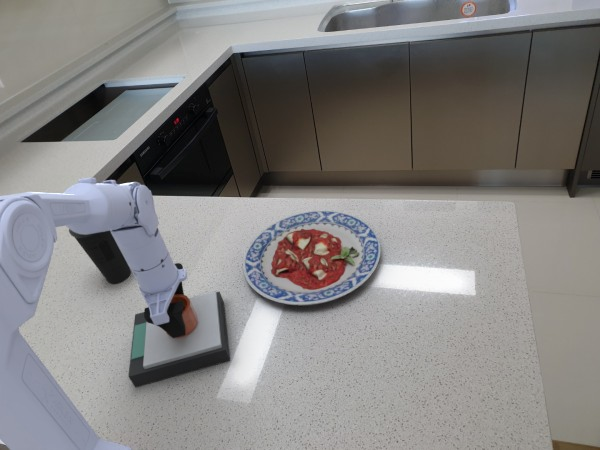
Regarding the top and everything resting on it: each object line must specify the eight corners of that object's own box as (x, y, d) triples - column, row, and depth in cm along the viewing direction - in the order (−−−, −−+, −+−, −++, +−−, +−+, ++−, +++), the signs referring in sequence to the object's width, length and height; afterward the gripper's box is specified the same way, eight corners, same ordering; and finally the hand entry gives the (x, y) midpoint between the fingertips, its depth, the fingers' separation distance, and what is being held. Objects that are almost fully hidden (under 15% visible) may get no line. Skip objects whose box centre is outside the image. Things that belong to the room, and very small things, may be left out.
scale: (135, 387, 71) (126, 373, 69) (140, 324, 81) (133, 311, 79) (230, 360, 72) (224, 346, 70) (223, 302, 82) (218, 288, 80)
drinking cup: (143, 261, 95) (103, 180, 83) (128, 288, 89) (82, 205, 77) (110, 263, 97) (66, 183, 85) (93, 289, 91) (42, 208, 79)
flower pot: (165, 343, 72) (155, 324, 69) (166, 317, 76) (156, 299, 74) (199, 333, 72) (190, 315, 70) (197, 309, 77) (189, 290, 74)
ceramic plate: (219, 294, 84) (215, 282, 82) (283, 211, 101) (281, 200, 99) (352, 329, 73) (350, 316, 71) (398, 229, 90) (397, 217, 88)
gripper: (175, 284, 60) (205, 348, 68) (176, 221, 71) (201, 283, 80) (122, 298, 59) (158, 361, 68) (131, 233, 71) (161, 293, 79)
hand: (179, 320), depth 74 cm, fingers closed on flower pot, 6 cm apart
